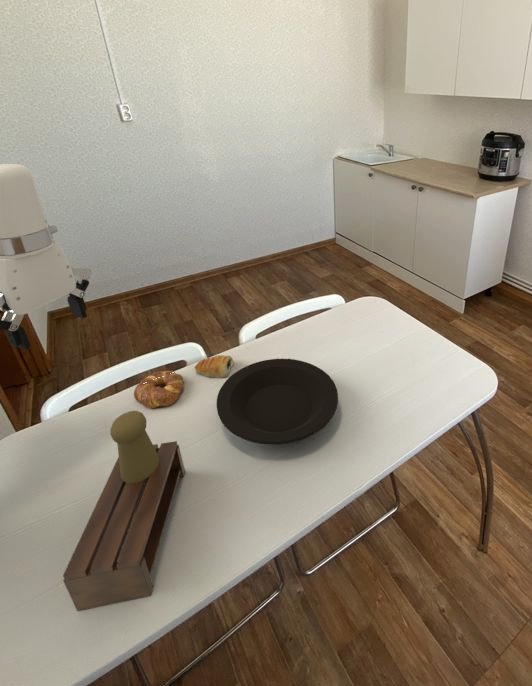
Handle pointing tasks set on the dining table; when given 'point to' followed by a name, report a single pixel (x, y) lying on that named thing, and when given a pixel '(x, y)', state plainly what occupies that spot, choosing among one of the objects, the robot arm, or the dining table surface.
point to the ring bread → (159, 389)
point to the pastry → (215, 366)
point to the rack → (124, 535)
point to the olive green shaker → (134, 447)
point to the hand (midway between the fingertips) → (53, 330)
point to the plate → (277, 401)
